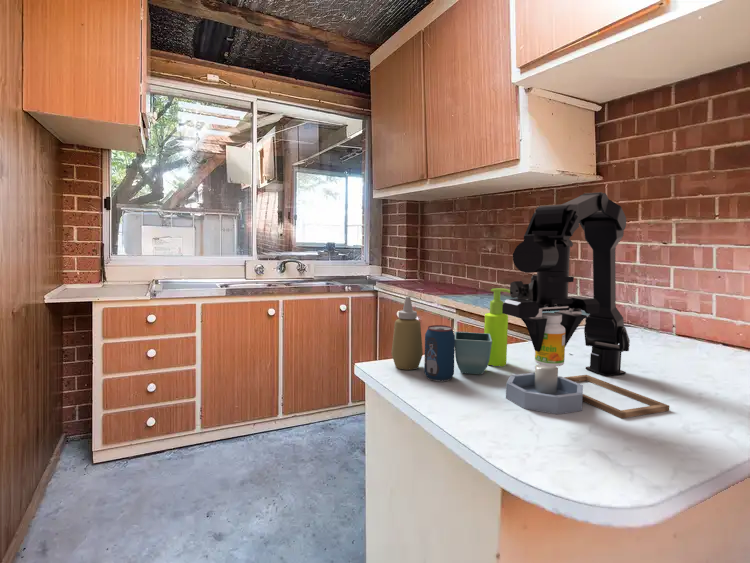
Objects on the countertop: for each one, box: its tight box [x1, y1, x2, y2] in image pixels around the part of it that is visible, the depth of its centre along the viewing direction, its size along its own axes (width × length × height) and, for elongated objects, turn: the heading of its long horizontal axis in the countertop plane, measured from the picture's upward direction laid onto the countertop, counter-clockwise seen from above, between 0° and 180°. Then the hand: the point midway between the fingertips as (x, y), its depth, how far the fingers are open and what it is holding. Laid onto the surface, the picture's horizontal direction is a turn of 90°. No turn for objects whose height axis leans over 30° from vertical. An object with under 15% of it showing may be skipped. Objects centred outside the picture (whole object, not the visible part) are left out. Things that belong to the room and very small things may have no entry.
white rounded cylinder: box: [534, 363, 559, 394], centre depth 88 cm, size 4×4×5 cm
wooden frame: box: [563, 374, 670, 419], centre depth 88 cm, size 12×20×1 cm, turn 18°
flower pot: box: [454, 331, 492, 375], centre depth 104 cm, size 9×9×9 cm
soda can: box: [423, 324, 455, 382], centre depth 99 cm, size 7×7×12 cm
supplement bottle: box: [534, 311, 566, 367], centre depth 82 cm, size 5×5×10 cm
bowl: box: [505, 372, 584, 415], centre depth 85 cm, size 14×14×3 cm
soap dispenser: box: [483, 287, 510, 367], centre depth 110 cm, size 6×7×20 cm
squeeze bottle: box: [391, 296, 424, 371], centre depth 106 cm, size 8×8×18 cm
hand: (549, 349), depth 82 cm, fingers closed on supplement bottle, 5 cm apart
